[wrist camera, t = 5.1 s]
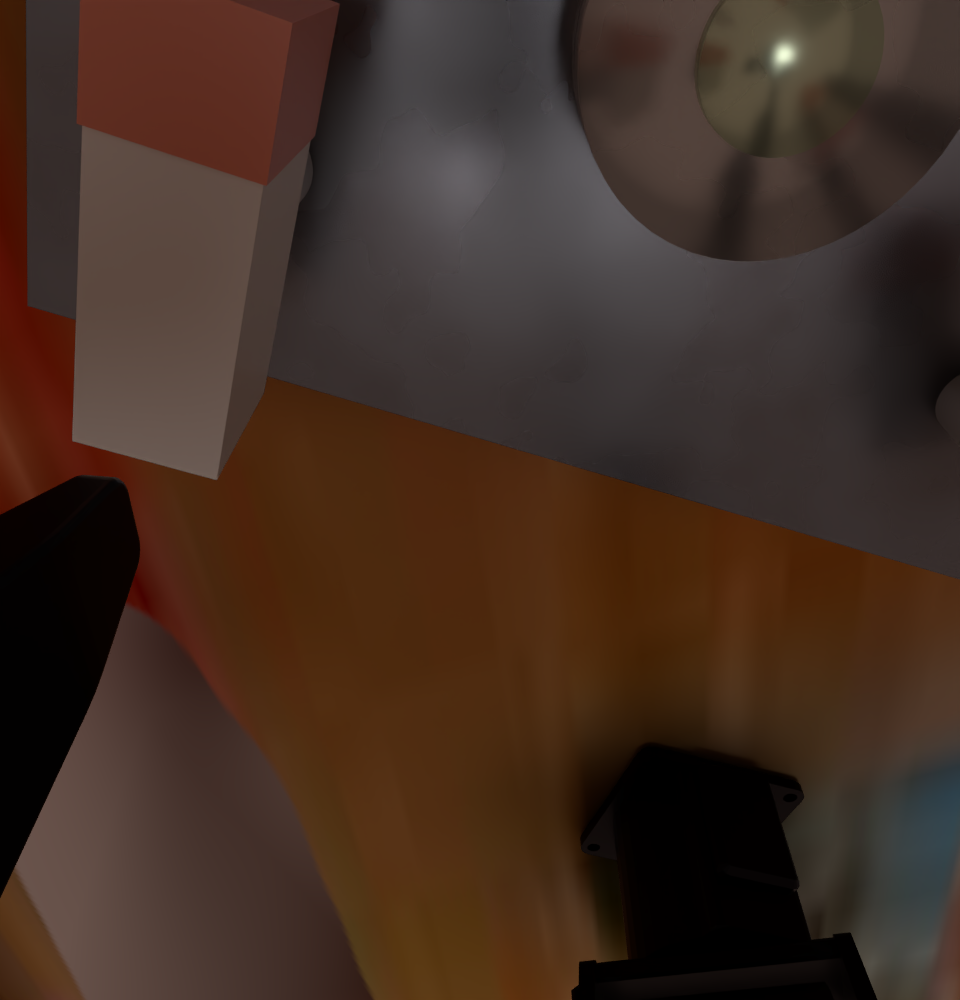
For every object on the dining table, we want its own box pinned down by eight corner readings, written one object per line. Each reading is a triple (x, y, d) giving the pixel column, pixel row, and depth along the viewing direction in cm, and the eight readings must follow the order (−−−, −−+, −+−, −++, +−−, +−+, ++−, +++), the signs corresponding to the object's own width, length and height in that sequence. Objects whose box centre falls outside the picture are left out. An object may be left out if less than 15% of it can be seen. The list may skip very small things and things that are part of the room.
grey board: (987, 566, 24) (1054, 654, 21) (51, 287, 20) (-29, 348, 17) (1803, -344, 13) (2183, -425, 10) (71, -1384, 9) (-146, -2034, 6)
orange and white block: (298, 333, 19) (218, 482, 14) (190, 301, 18) (68, 441, 13) (367, -8, 15) (292, 23, 10) (232, -59, 15) (81, -54, 9)
